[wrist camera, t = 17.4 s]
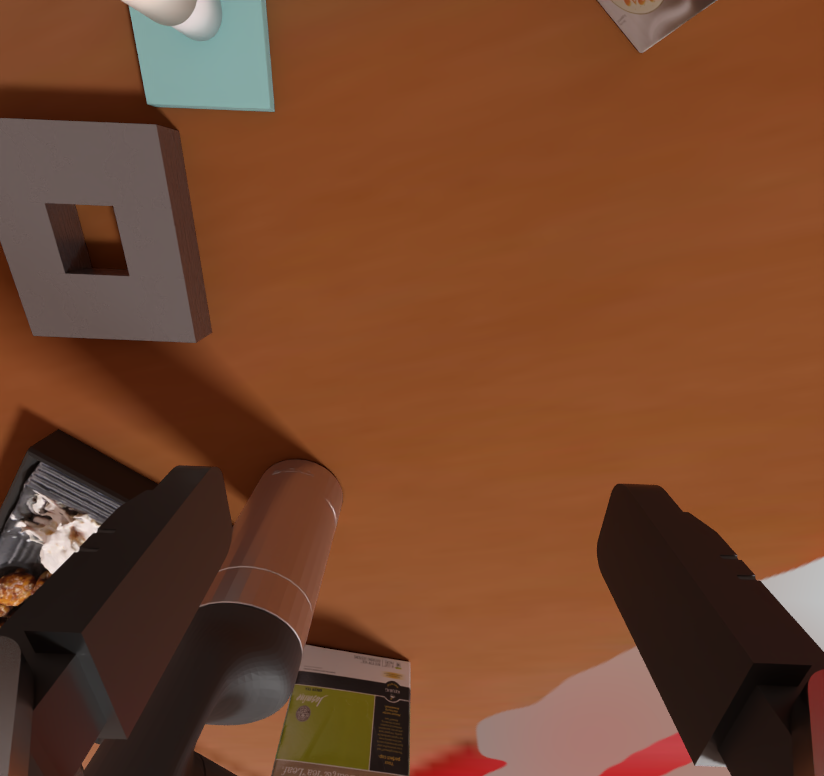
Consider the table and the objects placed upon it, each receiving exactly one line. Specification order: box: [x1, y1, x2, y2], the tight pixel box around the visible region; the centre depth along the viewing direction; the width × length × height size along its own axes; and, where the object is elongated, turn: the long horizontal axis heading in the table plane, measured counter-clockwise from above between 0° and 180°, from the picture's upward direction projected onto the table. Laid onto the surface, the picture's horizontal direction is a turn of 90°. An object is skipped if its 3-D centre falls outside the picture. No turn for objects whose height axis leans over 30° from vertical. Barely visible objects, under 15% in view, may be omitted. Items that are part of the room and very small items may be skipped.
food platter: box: [0, 429, 233, 745], centre depth 50 cm, size 45×25×10 cm, turn 142°
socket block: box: [0, 118, 212, 343], centre depth 34 cm, size 16×14×3 cm
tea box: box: [271, 645, 411, 776], centre depth 52 cm, size 15×10×15 cm
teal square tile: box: [129, 0, 275, 112], centre depth 29 cm, size 9×9×1 cm
